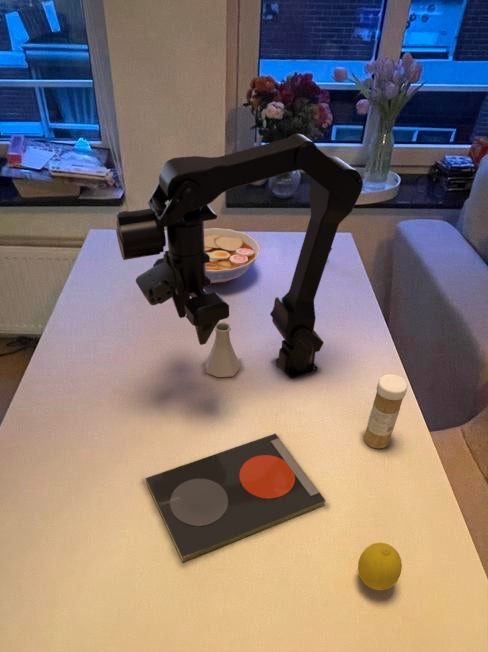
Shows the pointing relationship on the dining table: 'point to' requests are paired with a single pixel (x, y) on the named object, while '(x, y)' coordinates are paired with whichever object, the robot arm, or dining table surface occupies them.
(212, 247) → the ramen bowl
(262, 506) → the cooktop
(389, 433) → the sprinkles bottle
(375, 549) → the lemon
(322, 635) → the dining table surface
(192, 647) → the dining table surface
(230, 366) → the flask
